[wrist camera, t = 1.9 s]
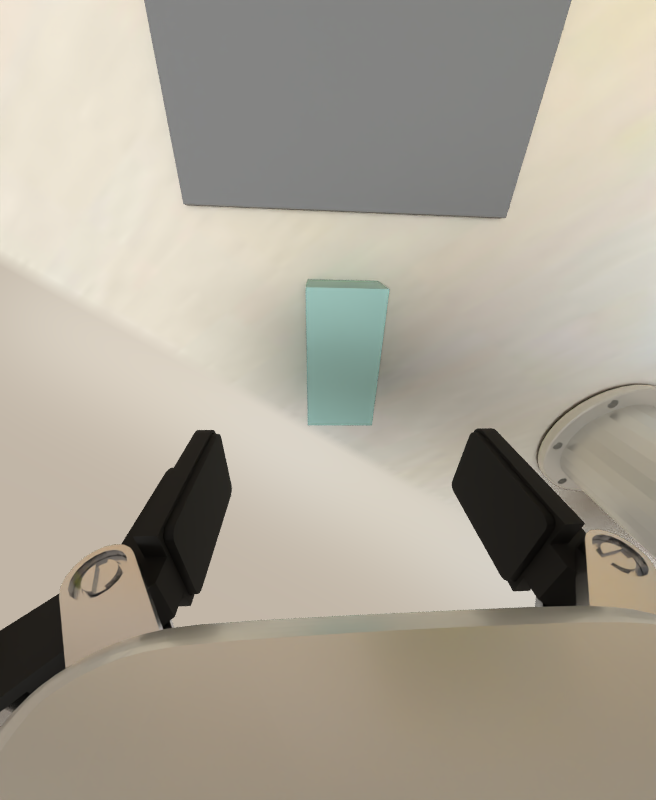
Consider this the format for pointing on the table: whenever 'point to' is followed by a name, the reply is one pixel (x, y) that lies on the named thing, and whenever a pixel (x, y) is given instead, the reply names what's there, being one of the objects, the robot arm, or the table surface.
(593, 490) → the robot arm
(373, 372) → the teal block
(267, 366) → the table surface
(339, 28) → the mat
